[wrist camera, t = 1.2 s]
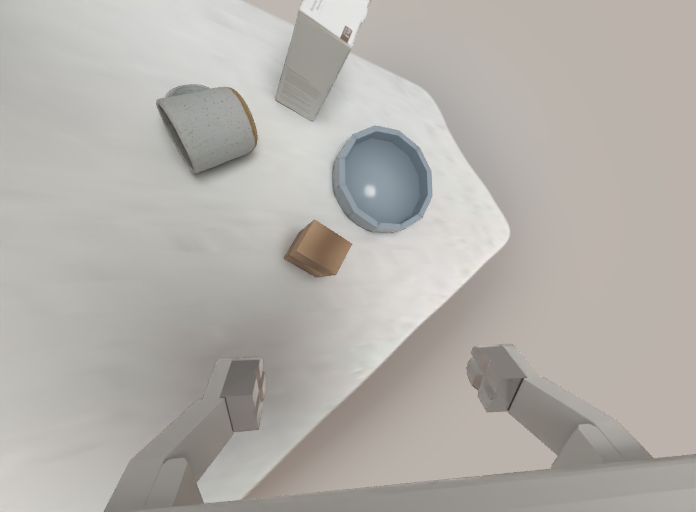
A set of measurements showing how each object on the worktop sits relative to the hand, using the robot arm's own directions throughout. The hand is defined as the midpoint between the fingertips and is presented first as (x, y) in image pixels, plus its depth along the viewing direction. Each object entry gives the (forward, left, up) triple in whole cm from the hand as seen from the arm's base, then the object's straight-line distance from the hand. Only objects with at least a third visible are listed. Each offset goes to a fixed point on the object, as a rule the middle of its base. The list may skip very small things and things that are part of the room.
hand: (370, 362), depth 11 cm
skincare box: (-12, +28, -28) cm, 41 cm away
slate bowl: (+4, +23, -27) cm, 36 cm away
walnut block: (0, +8, -27) cm, 29 cm away
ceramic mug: (-18, +14, -28) cm, 36 cm away
